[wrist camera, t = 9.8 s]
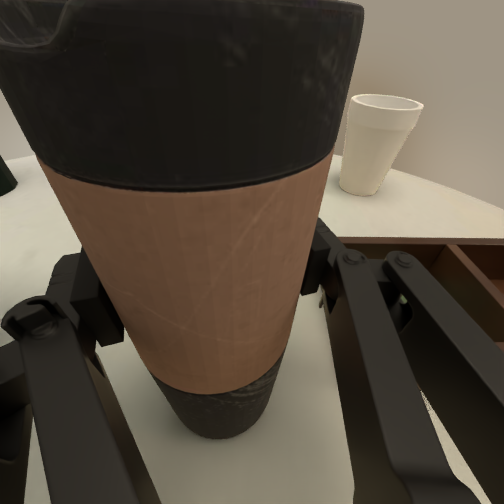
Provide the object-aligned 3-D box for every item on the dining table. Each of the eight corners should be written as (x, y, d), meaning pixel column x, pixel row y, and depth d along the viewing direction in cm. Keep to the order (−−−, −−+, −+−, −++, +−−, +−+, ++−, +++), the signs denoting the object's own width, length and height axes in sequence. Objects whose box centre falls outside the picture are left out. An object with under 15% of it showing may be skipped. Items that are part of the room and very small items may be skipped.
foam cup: (394, 203, 41) (435, 112, 32) (335, 198, 41) (360, 108, 32) (377, 176, 48) (408, 95, 39) (327, 172, 48) (346, 92, 40)
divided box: (317, 275, 29) (329, 236, 25) (516, 276, 30) (556, 238, 26) (350, 391, 20) (377, 357, 16) (634, 388, 21) (722, 354, 17)
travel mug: (255, 324, 22) (281, 10, 9) (291, 421, 17) (487, 7, 4) (164, 348, 21) (26, -5, 7) (173, 466, 15) (-310, -55, 2)
